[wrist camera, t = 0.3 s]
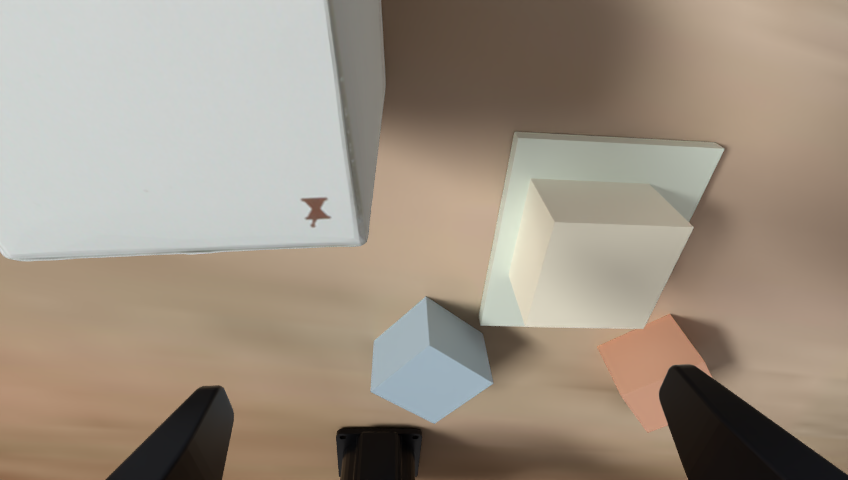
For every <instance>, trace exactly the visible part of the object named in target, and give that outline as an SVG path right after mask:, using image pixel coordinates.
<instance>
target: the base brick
mask: <svg viewBox="0 0 848 480" xmlns="http://www.w3.org/2000/svg"><path fill="white" fill-rule="evenodd" d="M693 228H694V227H693V226H692V225H691V224H690V223H689V222H688V221H687V220H686V219H685V218H684V217H683V216H682V215H681V214H680V213H679V212H678V211H677V210H676V209H675V208H673V207H672V206H671V205H670V204H669V203H668V202H667V201H666V200H665V199H664V198H663V197H662V196H661V195H660V194H659V193H658V192H657V191H656V190H655V189H654V188H653V187H652V186H651V185H650V184H644V183H622V182H599V181H577V180H555V179H533V178H531V179H530V183H529V188H528V192H527V196H526V201H525V205H524V209H523V214H522V218H521V222H520V227H519V231H518V235H517V240H516V244H515V249H514V253H513V257H512V262H511V266H510V270H509V278H510V281H511V285H512V288H513V291H514V294H515V297H516V300H517V303H518V306H519V309H520V312H521V315H522V318H523V322H524V325H525V327H560V328H614V329H644V327H645V325H646V323H647V321H648V319H649V317H650V315H651V313H652V311H653V309H654V307H655V305H656V303H657V301H658V299H659V297H660V295H661V293H662V291H663V289H664V287H665V285H666V283H667V281H668V279H669V277H670V275H671V273H672V271H673V268H674V266H675V264H676V262H677V260H678V258H679V256H680V254H681V252H682V250H683V248H684V246H685V244H686V242H687V240H688V238H689V236H690V234H691V232H692V230H693Z"/></svg>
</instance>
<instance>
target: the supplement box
mask: <svg viewBox="0 0 848 480" xmlns="http://www.w3.org/2000/svg"><path fill="white" fill-rule="evenodd" d="M385 89H386V76H385V59H384V40H383V23H382V7H381V0H0V252H1V254H2V255H3V256H4V257H6V258H9V259H12V260H18V261H41V260H64V259H77V258H101V257H124V256H143V255H165V254H207V253H216V252H229V251H251V250H271V249H294V248H318V247H356V246H362V245H363V244H365V243H366V242H367V239H368V234H369V224H370V214H371V205H372V198H373V189H374V180H375V172H376V163H377V155H378V147H379V139H380V130H381V121H382V113H383V105H384V97H385Z"/></svg>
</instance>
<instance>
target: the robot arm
mask: <svg viewBox="0 0 848 480" xmlns="http://www.w3.org/2000/svg"><path fill="white" fill-rule="evenodd" d="M659 400H660V403H661V406H662V409H663V412H664V415H665V417H666V420H667V423H668V426H669V429H670V431H671V434H672V437H673V440H674V442H675V445H676V448H677V451H678V454H679V456H680V459H681V462H682V465H683V467H684V470H685V472H686V475H687V477H688V480H848V475H847V474H846V473H844V472H843V471H841V470H840V469H839V468H837V467H836V466H834V465H833V464H832V463H830V462H829V461H827V460H826V459H825V458H823V457H822V456H820V455H819V454H818V453H816V452H815V451H813V450H812V449H811V448H809V447H808V446H806V445H805V444H804V443H802V442H801V441H800V440H798V439H797V438H795V437H794V436H793V435H791V434H790V433H788V432H787V431H786V430H784V429H783V428H781V427H780V426H779V425H777V424H776V423H774V422H773V421H772V420H770V419H769V418H767V417H766V416H765V415H763V414H762V413H760V412H759V411H758V410H756V409H755V408H753V407H752V406H751V405H749V404H748V403H747V402H745V401H744V400H742V399H741V398H740V397H738V396H737V395H735V394H734V393H733V392H731V391H730V390H728V389H727V388H726V387H724V386H723V385H721V384H720V383H719V382H717V381H716V380H714V379H713V378H712V377H710V376H709V375H707V374H706V373H705V372H703V371H702V370H700V369H699V368H698V367H696V366H694V365H691V364H682V365H672V366H671V367H670V368H669V369H668V371H667V374H666V376H665V378H664V380H663V383H662V385H661V387H660V390H659ZM233 421H234V413H233V409H232V406H231V404H230V401H229V399H228V397H227V394H226V392H225V390H224V388H223V387H222V386H203V387H200V388H198V389H197V390H196V391H195V392H194V393H193V394H192V395H191V396H190V397H189V398H188V399H187V400H186V401H185V402H184V403H183V404H182V405H181V406H179V407H178V408H177V409H176V410H175V411H174V412H173V413H172V414H171V415H170V416H169V417H168V418H167V419H166V420H165V421H164V422H163V423H162V424H161V425H160V426H159V427H158V428H157V429H156V430H155V431H154V432H153V433H152V434H151V435H150V436H149V437H148V438H147V439H146V440H145V441H144V442H143V443H142V444H141V445H140V446H139V447H138V448H137V449H136V450H135V451H134V452H133V453H132V454H131V455H130V456H129V457H128V458H127V459H126V460H125V461H124V462H123V463H122V464H121V465H120V466H119V467H118V468H117V469H116V470H115V471H114V472H113V473H112V474H111V475H110V476H109V477H108V478H107V479H106V480H222V476H223V471H224V466H225V461H226V456H227V451H228V446H229V441H230V437H231V432H232V427H233ZM421 441H422V431H421V430H419V429H340V430H338V431H337V435H336V442H337V455H338V469H339V477H340V480H415V477H416V476H417V475H418V466H419V458H420V450H421Z"/></svg>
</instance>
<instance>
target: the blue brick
mask: <svg viewBox="0 0 848 480" xmlns="http://www.w3.org/2000/svg"><path fill="white" fill-rule="evenodd" d="M492 384H493V379H492V374H491V370H490V365H489V360H488V355H487V351H486V346H485V341H484V337H483V333H481V332H480V331H478V330H476V329H475V328H473V327H472V326H470V325H469V324H467V323H466V322H464V321H463V320H461V319H460V318H458V317H457V316H455V315H454V314H452V313H451V312H449V311H447V310H446V309H444V308H443V307H441V306H440V305H438V304H437V303H435V302H434V301H432V300H431V299H429V298H428V297H425V298H424V299H422V300H421V301H420V302H419V303H418V304H417V305H415V306H414V307H413V308H412V309H411V310H410V311H408V312H407V313H406V314H405V315H404V316H403V317H401V318H400V319H399V320H398V321H397V322H396V323H394V324H393V325H392V326H391V327H390V328H389V329H387V330H386V331H385V332H384V333H383V334H382V335H380V336H379V337H378V338H377V339H376V340H375V341H374V348H373V363H372V378H371V392H372V393H374V394H376V395H378V396H380V397H382V398H384V399H386V400H388V401H390V402H392V403H394V404H396V405H398V406H400V407H402V408H404V409H406V410H408V411H410V412H412V413H414V414H416V415H418V416H420V417H422V418H424V419H426V420H428V421H430V422H432V423H434V424H435V423H436V422H438V421H439V420H441V419H442V418H443V417H445V416H446V415H448V414H449V413H451V412H452V411H454V410H455V409H457V408H458V407H460V406H461V405H463V404H464V403H465V402H467V401H468V400H470V399H471V398H473V397H474V396H476V395H477V394H479V393H480V392H482V391H483V390H485V389H486V388H487V387H489V386H490V385H492Z"/></svg>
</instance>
